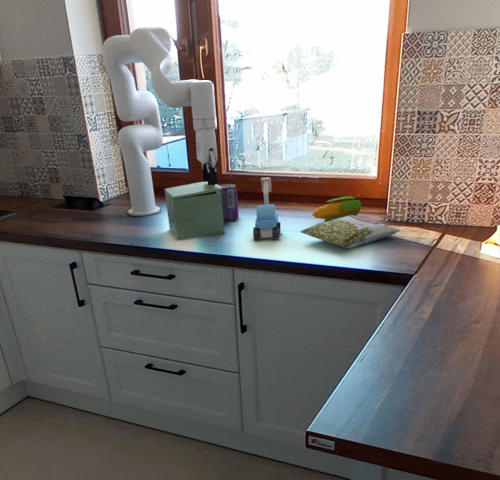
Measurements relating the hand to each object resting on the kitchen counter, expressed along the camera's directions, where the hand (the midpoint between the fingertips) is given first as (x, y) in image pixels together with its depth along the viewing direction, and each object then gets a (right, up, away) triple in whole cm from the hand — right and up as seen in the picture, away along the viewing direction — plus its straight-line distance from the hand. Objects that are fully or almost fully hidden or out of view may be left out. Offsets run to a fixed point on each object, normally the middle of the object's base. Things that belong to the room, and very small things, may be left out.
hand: (210, 182), depth 198 cm
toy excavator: (+20, -18, -1) cm, 27 cm away
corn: (+45, -10, +10) cm, 47 cm away
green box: (-5, -15, +7) cm, 17 cm away
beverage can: (+6, -7, +19) cm, 21 cm away
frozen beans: (+46, -23, -12) cm, 52 cm away
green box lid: (-6, -3, 0) cm, 7 cm away
